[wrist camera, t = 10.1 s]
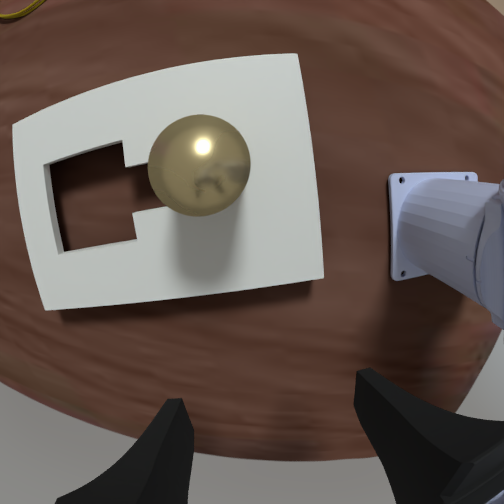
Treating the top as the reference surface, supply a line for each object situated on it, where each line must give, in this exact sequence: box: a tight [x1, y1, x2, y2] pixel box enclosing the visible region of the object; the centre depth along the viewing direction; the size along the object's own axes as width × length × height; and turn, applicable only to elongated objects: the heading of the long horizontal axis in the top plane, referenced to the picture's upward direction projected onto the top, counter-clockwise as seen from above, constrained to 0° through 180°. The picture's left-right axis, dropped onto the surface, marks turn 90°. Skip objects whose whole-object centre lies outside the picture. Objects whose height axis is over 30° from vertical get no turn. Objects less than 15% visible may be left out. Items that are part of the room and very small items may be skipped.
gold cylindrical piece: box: [148, 114, 251, 217], centre depth 15 cm, size 4×4×8 cm
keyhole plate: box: [13, 54, 324, 310], centre depth 17 cm, size 20×14×2 cm
